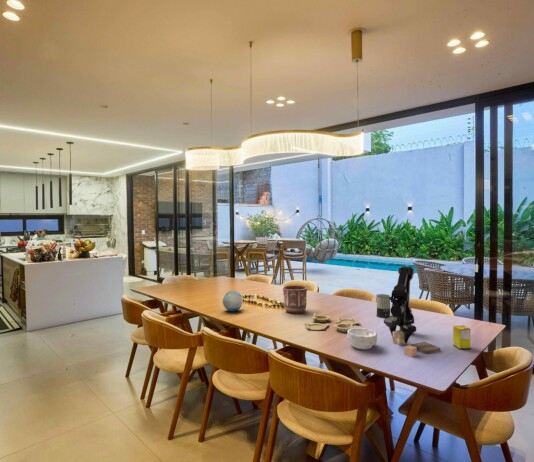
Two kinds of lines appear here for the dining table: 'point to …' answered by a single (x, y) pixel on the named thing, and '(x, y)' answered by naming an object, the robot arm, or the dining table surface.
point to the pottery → (295, 298)
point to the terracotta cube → (410, 351)
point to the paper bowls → (361, 338)
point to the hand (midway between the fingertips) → (399, 340)
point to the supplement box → (461, 337)
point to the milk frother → (383, 305)
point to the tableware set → (342, 326)
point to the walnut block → (426, 347)
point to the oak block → (398, 337)
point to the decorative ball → (232, 301)
